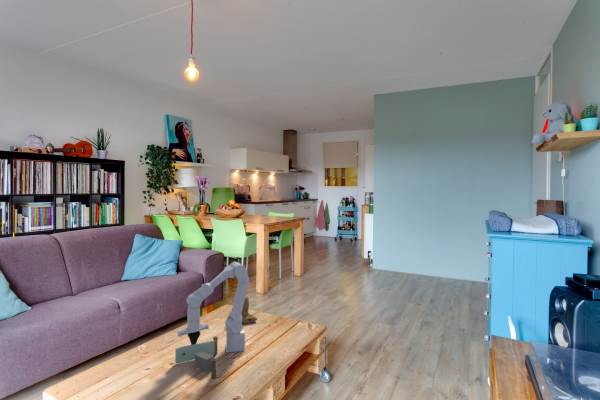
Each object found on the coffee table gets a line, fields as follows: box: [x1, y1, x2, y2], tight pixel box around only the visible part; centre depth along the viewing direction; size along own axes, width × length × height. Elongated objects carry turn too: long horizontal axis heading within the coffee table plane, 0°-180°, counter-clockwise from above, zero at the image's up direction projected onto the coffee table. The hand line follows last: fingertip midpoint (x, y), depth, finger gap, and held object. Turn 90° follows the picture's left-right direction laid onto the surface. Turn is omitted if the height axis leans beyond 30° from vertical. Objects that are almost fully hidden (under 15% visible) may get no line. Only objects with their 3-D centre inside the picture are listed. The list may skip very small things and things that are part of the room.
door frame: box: [210, 336, 219, 380], centre depth 152 cm, size 2×24×8 cm, turn 13°
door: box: [175, 339, 218, 365], centre depth 156 cm, size 19×2×7 cm, turn 120°
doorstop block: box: [194, 351, 215, 373], centre depth 149 cm, size 8×4×6 cm, turn 58°
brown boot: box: [232, 295, 258, 324], centre depth 204 cm, size 15×12×15 cm
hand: (193, 346), depth 157 cm, fingers closed
